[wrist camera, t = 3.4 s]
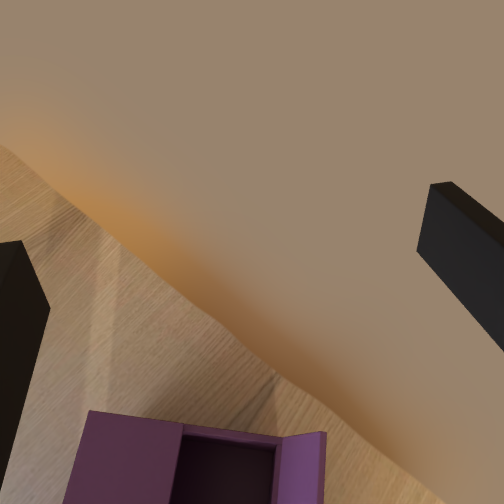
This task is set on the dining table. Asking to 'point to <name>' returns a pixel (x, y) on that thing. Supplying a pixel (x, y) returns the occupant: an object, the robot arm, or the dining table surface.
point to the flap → (302, 469)
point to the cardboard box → (171, 464)
